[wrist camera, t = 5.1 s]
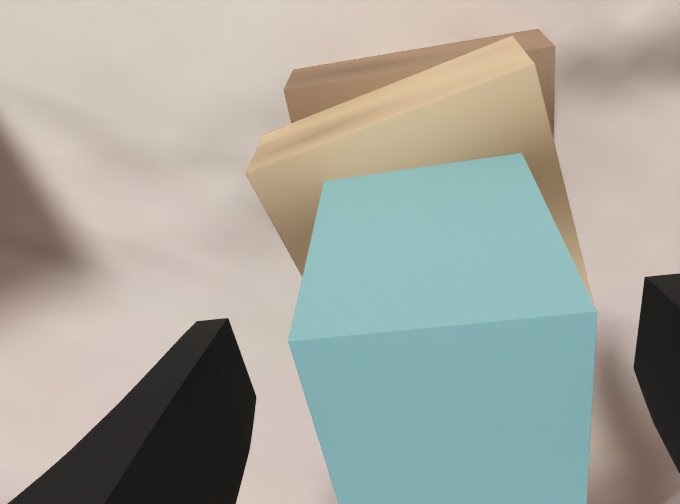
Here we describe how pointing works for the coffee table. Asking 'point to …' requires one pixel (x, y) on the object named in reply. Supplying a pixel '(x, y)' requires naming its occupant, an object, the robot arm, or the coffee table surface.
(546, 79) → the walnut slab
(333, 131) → the oak slab
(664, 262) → the coffee table surface
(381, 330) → the teal block
